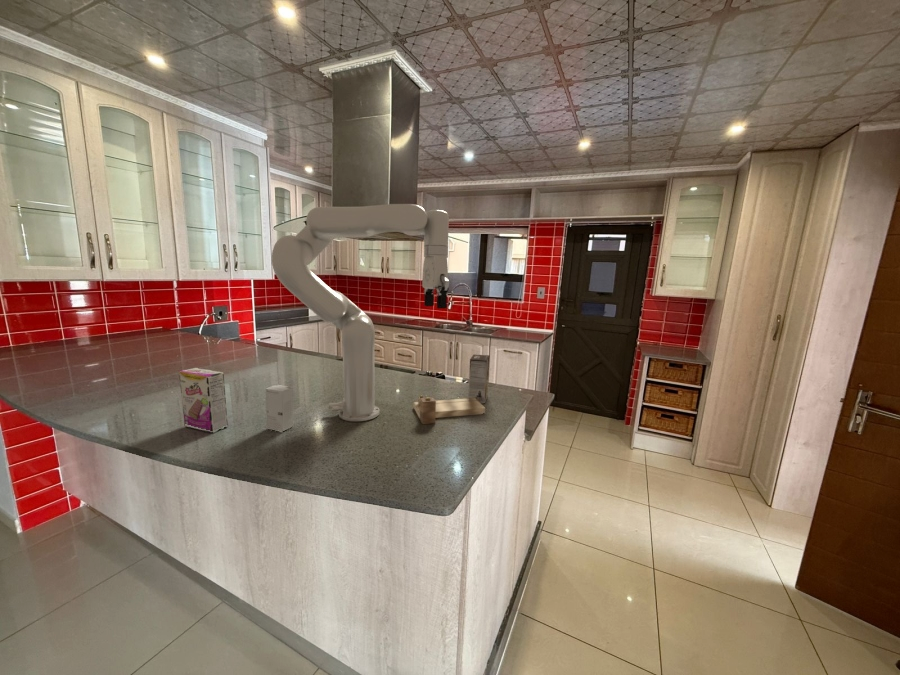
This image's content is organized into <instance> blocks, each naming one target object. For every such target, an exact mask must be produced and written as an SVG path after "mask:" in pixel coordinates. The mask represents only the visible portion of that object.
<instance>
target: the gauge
mask: <svg viewBox="0 0 900 675" xmlns="http://www.w3.org/2000/svg"><path fill="white" fill-rule="evenodd" d="M417 400H418V401H417V402H418V404H419V405H420V419H419V420H420V422H421V424H422V425H428V424H436V418H435V414H436V401H437V400H436V399H435V398H434V397H432V396H431V397H430V396H426V397H424V395H422V394H421V395H419V397H417Z"/></svg>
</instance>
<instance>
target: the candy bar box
mask: <svg viewBox="0 0 900 675" xmlns="http://www.w3.org/2000/svg"><path fill="white" fill-rule="evenodd" d="M178 375H179V385H180V391H181V392H180V394H181V401H182V402H181V404H182V412H183V413H182V414H183V422H184V424H183V425H185V424H187V425H191V426H194V427H198V428H201V429H206V430H210V431H213V430H216V429H219V428H221V427H223V426H226V425H228V426H229V423H228V413H227V402H226V401H227V400H226V399H227V398H226V389H225V388H226V386H225V376H224V375H225V373H224V372H223V371H218V370H211V369H205V368H201V367H200V368H199V367H193V368H192V367H191V368H188V369H183V370H181V371H178Z"/></svg>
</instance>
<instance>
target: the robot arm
mask: <svg viewBox="0 0 900 675" xmlns="http://www.w3.org/2000/svg"><path fill="white" fill-rule="evenodd" d="M449 218H450V216H449V213H448V212H447V211H444V210H439V209H431V210H428V211H426V210H425V209H424V208H423V207H422V206H420V205H417V204H413V203H389V204H388V203H386V204H377V205H376V204H375V205H365V206H317V207H314V208H311V209H310V210H309V211H308V212H307V215H306V219H305V220H306V225H305V226H304V227H303V228H302V229H301V230H300V231H299V232H298V233H297V234H296V235H294V234H293V235H292V234H291V235H284V236H282V237H280V238H278V239H277V241H276V242H275V243H274V245H273V248H272V251H271V252H272V253H271V264H272V269H273V272H274V274H275V276H276V277H277V279H278V281H279V282H280V283H281V284H282V286H284V287H285V289H287V290H288V291H289V292H290V293H291V294H292V295H293V296H295V298H296V299H298V300H299V301H300V302H301V303H302V304H304V305H305V306H306V307H307V308H308V309H309V310H310V311H311V312H313V313H314V314H315V315H316V316H317V317H318V318H319V319H320V320H322V321H323V322H326V323H330V324H331V323H332V324H333V326H335V328H337V329H339V330H340V331H341V346H342V348H341V349H342V375H343V377H342V379H343V382H342V383H343V398H342V401H339V402H329V403H328V410H332V412H338V416H339V418H340V419H342V420H343V421H346V422H347V421H348V422H366V421H371V420H373V419H375V418H377V417H378V416H379V415H380V411H381V410H380V408H379V406H377V405H375V404H376V402H375V397H376V396H375V395H376V394H375V393H376V392H375V391H376V390H375V387H376V385H375V378H376V377H375V374H376V373H375V371H376V370H375V369H376V368H375V349H376V348H375V346H376V345H375V339H376V333H375V331H376V330H375V326H374V323H373V321H372V318H371V317H369V315H367V314H366V313H365V312H364V311H363V310H362V309H361V308H360V307H359V306H357V305H356V304H355V303H354V302H352V301H351V300H350V299H349V298H348V297H347V296H346V295H344V294H343V293H341V292H340V291H337V290H334V289H332V288H331V287H330V286H328V284H326V282H324V281H323V280H322V279H321V278H320V277H318V276H317V275H316V274H315V273H314V272H312V270H311V269H310V268H309V267H308V266H309V265H310V264H311V263H312V262H314V260H315V259H316V258H318V256H319V255H320V254H321V253H322V252H323V251H324V250H325V249H326V248H327V247H328V246H329V245H330V244H331V243H332V242H333V241H334V239H339V238H341V239H343V238H368V237H373V236H375V235H379V234H382V233H384V234H385V233H393V232H395V233H396V232H401V233H402V234H404V235H407V236H411V237H413V236H414V237H415V236H422V235H424V236H423V237H424V239H423V257H424V260H423V268H422V281H421V282H422V283H421V284H422V288H423V294H424V297H423V298H424V307H435V305H434V304H435V294H434V291H435V289H436V292H437V295H436V309H439V310H440V309H442V310H443V309H447V308H448V304H447V303H448V294H449V293H448V292H449V286H450V280H449V271H448V270H449V268H448V257H449V222H450V219H449Z"/></svg>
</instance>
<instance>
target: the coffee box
mask: <svg viewBox="0 0 900 675" xmlns="http://www.w3.org/2000/svg"><path fill="white" fill-rule="evenodd" d="M489 371H490V354H489V355H488V354H486V355H485V354H472V356H471V357H470V359H469V375H468V379H469V380H468V397H467V398H475V399H476V400H477V401H478V402H480V403H481V404H483V403H485V404H486V403H487V402H486V401H487V399H488V395H489V376H490V375H489V374H490V372H489Z"/></svg>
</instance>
